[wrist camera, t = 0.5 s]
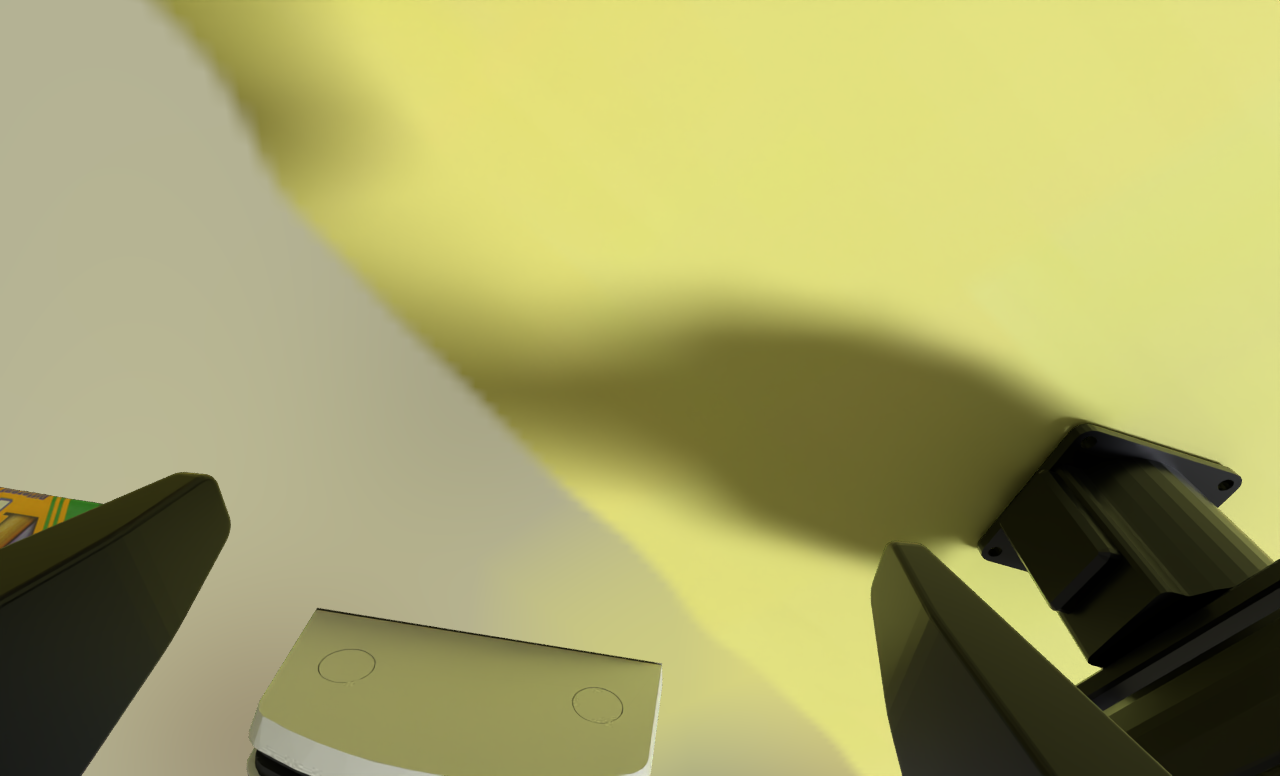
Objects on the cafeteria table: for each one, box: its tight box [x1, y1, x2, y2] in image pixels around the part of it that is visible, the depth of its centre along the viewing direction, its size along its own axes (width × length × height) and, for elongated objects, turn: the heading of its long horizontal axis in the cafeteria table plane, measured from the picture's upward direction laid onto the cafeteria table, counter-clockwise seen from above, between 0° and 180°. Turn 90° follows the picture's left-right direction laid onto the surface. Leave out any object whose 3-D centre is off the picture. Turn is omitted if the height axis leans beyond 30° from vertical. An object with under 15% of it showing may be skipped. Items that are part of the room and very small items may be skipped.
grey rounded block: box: [247, 608, 662, 776], centre depth 27 cm, size 17×5×10 cm, turn 80°
